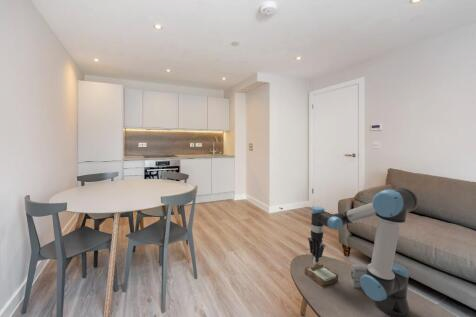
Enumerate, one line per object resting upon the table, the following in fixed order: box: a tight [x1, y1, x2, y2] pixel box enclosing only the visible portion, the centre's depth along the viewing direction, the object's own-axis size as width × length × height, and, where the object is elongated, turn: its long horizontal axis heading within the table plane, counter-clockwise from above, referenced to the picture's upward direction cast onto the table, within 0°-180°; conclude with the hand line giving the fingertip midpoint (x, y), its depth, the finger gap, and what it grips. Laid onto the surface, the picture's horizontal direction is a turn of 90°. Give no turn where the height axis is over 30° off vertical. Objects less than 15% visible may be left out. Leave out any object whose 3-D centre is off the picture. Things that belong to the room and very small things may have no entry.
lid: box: [309, 262, 336, 282], centre depth 140 cm, size 13×11×4 cm
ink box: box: [349, 264, 367, 289], centre depth 133 cm, size 9×5×12 cm, turn 84°
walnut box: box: [304, 262, 339, 288], centre depth 140 cm, size 15×13×4 cm
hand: (315, 265), depth 145 cm, fingers closed
